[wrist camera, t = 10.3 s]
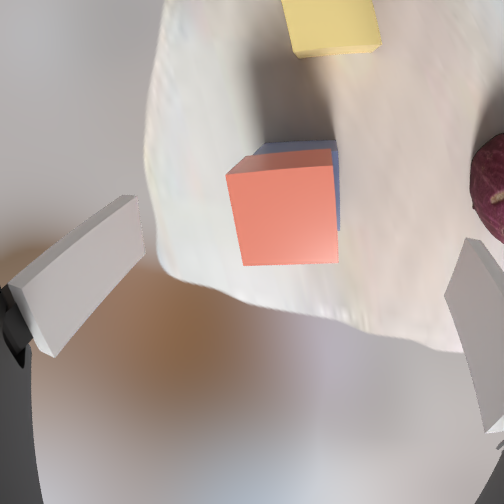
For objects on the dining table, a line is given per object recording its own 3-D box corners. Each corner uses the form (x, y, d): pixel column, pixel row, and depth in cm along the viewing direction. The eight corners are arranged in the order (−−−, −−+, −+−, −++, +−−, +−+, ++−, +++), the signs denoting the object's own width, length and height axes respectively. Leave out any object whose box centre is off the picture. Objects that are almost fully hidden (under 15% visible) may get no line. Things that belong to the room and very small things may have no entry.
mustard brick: (284, -5, 19) (275, -23, 15) (356, -12, 17) (362, -32, 13) (299, 58, 22) (293, 51, 18) (371, 52, 20) (382, 44, 16)
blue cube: (264, 143, 26) (252, 154, 22) (335, 139, 25) (338, 151, 20) (271, 207, 29) (261, 231, 25) (338, 206, 27) (340, 230, 23)
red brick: (245, 156, 22) (225, 174, 18) (331, 148, 20) (332, 165, 16) (258, 231, 25) (243, 265, 20) (336, 228, 23) (338, 262, 19)
